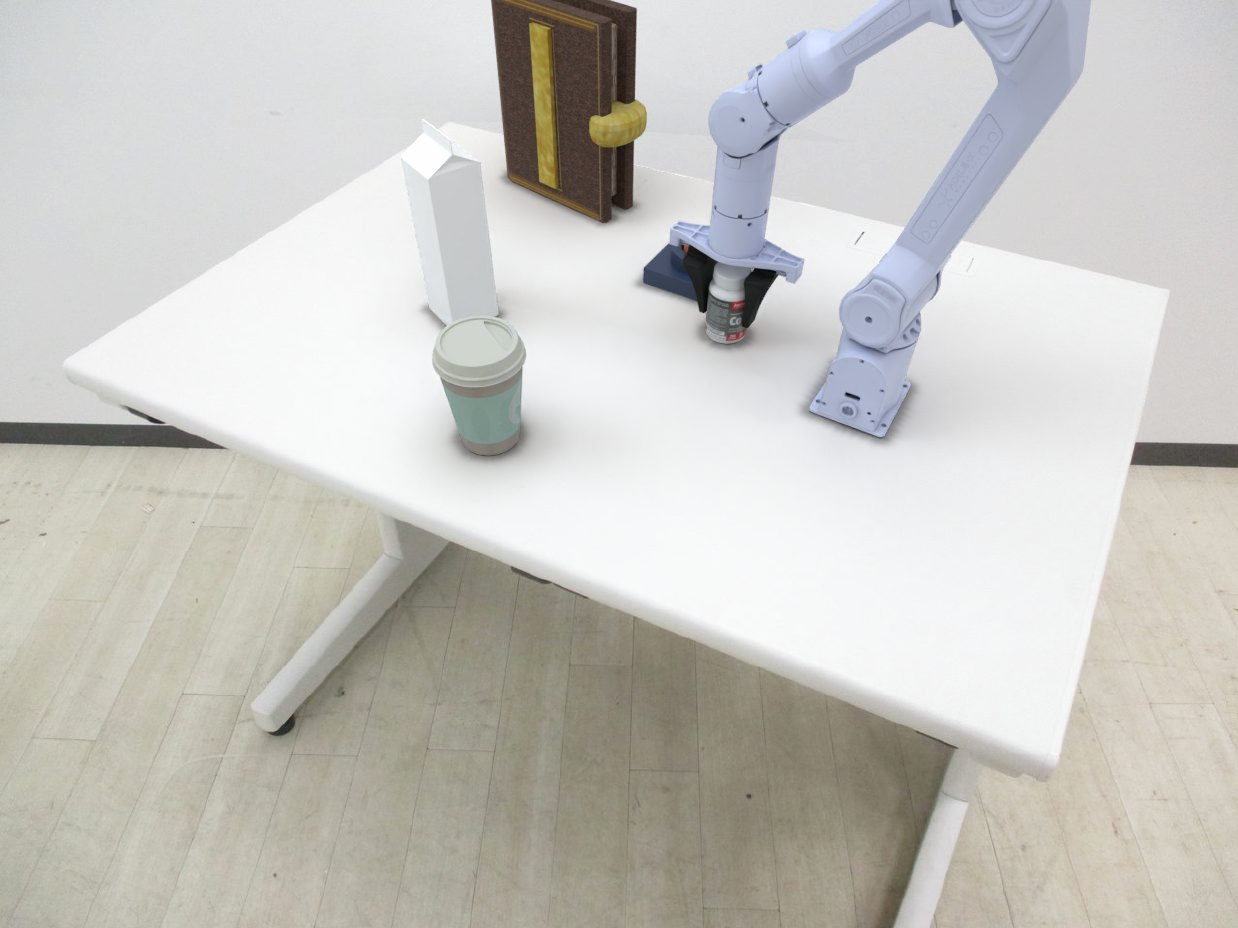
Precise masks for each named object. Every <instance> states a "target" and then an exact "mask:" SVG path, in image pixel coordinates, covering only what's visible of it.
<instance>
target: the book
mask: <svg viewBox="0 0 1238 928" xmlns="http://www.w3.org/2000/svg"><path fill="white" fill-rule="evenodd" d="M490 3H491V15H492V25H493V35H494V36H493V37H494V45H495V47H494V48H495V57H496V58H495V59H496V70H497V78H498V90H499V99H500V110H501V111H500V112H501V123H502V131H503V140H504V141H503V142H504V143H503V144H504V153H505V165H506V174H507V175H506V176H507V178H508V180H509V181H511V183H514V184H517V185H519V186H520V187H523V188H525V189H527V190H529V191H532V192H534V193H535V194H538V195H540V196H543V197H545V198H547V199H549V200H552V201H553V202H555V203H558V204H561V205H563V206H565V207H566V208H569V209H572V210H573V211H575V212H578V213H580V214H582V215H585V216H587V217H589V218H592V219H594V220H596V221H598V222H600V223H602V224H605V223H608V222H609V221H611V220H612V218H613V217H612V216H613V214H612V212H613V210H612V207H613V206H616V207H618V208H619V209H622V210H629V209H631V208H633V207H634V171H635V170H634V168H635V167H634V166H635V165H634V164H635V141H636V140H637V139H639V138H640V137H642V135H643V134H644V133H645V131H646V128H647V122H648V112H647V108H646V106H645V105H644V104H643V103H642V102H641V101H640V100H638V99H636V75H637V72H636V71H637V70H636V67H637V24H638V23H637V19H638V17H637V16H638V8H637V7H635V6H631V5H628V4H625V3H622V2H618V1H615V0H490Z"/></svg>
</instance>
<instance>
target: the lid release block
mask: <svg viewBox="0 0 1238 928" xmlns="http://www.w3.org/2000/svg"><path fill="white" fill-rule="evenodd" d="M686 255H687V254H686V253H685V252H684V245H682V244H680V245H679V246H674V245H671V244H669V242H668V243H667V244H666V245H665V246H664V247H663V248H662V249H661V250H660V251H659V252H658V253H657V254H656V255H655V256H654V257H652V259H651V260H650V261H649V262H648V263H646V264H645V266H644V267H643V274H642V277H643V278H642V283H643V284H645V285H649V286H650V287H654V288H657V289H660V290H663V291H666V292H669V293H672V294H676V295H678V296H681V297H683V298H687V299H690V300H692V301H695V302H697V297H696V293H695V290H694V287H693V284H692V281H691V279H690V277H689V275H688V273H687V272H686V270H685V269H684V267H683V258H684V257H685V256H686Z"/></svg>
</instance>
